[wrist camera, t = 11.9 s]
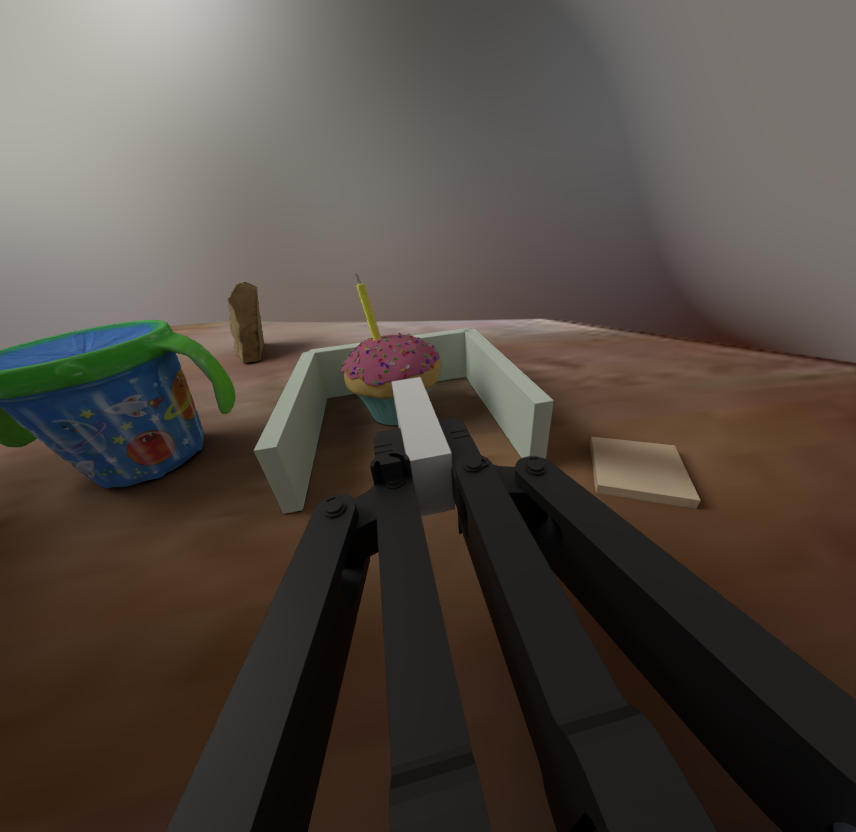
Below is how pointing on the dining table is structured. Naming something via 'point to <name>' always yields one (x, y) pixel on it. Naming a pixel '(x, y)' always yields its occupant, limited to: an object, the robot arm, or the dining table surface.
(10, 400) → the snack cup
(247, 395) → the dining table surface
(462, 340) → the tray
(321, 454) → the dining table surface
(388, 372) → the cupcake
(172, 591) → the dining table surface
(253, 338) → the rock
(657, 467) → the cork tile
